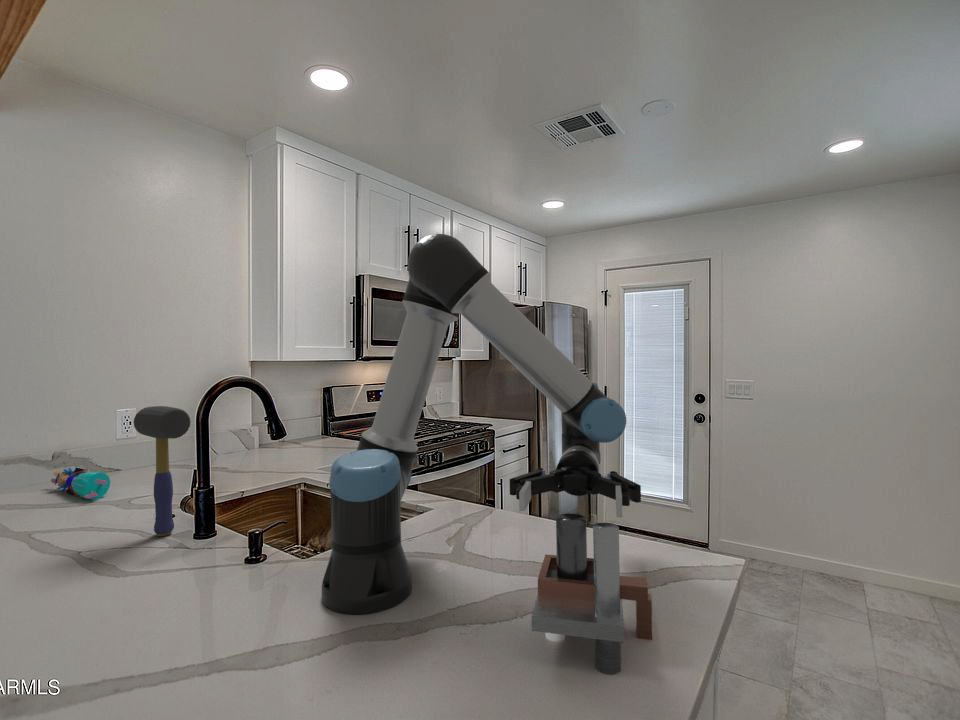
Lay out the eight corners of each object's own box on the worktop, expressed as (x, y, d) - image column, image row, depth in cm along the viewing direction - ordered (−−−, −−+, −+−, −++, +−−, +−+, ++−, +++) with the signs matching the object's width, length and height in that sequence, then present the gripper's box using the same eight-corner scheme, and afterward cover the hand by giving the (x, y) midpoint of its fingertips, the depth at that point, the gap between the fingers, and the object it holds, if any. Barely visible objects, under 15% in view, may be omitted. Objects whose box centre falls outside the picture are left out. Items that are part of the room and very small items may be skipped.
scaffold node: (532, 665, 63) (530, 526, 63) (546, 607, 78) (544, 494, 78) (659, 683, 59) (656, 535, 59) (648, 619, 74) (647, 500, 74)
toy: (83, 501, 139) (35, 488, 153) (114, 502, 146) (66, 490, 160) (93, 472, 141) (45, 462, 155) (123, 475, 148) (74, 465, 162)
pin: (556, 632, 71) (554, 522, 71) (559, 616, 75) (557, 512, 75) (587, 636, 70) (585, 524, 69) (588, 619, 74) (586, 514, 74)
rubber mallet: (132, 535, 113) (129, 406, 113) (166, 525, 120) (164, 403, 120) (161, 544, 107) (159, 408, 107) (195, 533, 114) (193, 405, 114)
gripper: (649, 494, 86) (663, 537, 66) (511, 487, 93) (484, 524, 72) (649, 452, 86) (662, 482, 66) (510, 447, 93) (483, 474, 72)
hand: (569, 504), depth 69 cm, fingers open, 13 cm apart
